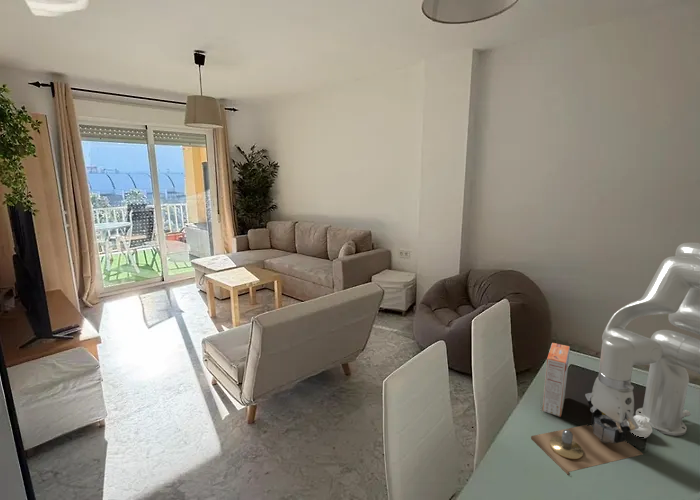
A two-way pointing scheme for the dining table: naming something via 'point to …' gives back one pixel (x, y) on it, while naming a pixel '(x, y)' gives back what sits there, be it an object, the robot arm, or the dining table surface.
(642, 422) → the muffin
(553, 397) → the cracker box
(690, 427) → the dining table surface
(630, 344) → the robot arm
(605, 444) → the board
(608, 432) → the ring
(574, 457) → the hub
